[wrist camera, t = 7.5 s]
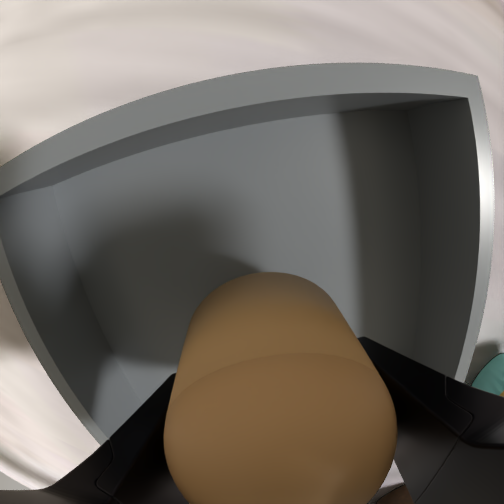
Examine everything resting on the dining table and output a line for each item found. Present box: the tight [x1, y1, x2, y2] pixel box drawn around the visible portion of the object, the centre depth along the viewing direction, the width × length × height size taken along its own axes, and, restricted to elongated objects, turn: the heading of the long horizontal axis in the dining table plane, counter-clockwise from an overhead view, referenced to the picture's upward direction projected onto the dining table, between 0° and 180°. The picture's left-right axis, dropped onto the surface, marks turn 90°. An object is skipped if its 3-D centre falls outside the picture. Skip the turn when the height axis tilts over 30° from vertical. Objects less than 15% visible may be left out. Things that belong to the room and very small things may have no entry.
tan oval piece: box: [164, 272, 398, 504], centre depth 6 cm, size 5×5×7 cm
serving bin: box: [0, 63, 494, 445], centre depth 10 cm, size 16×16×4 cm
